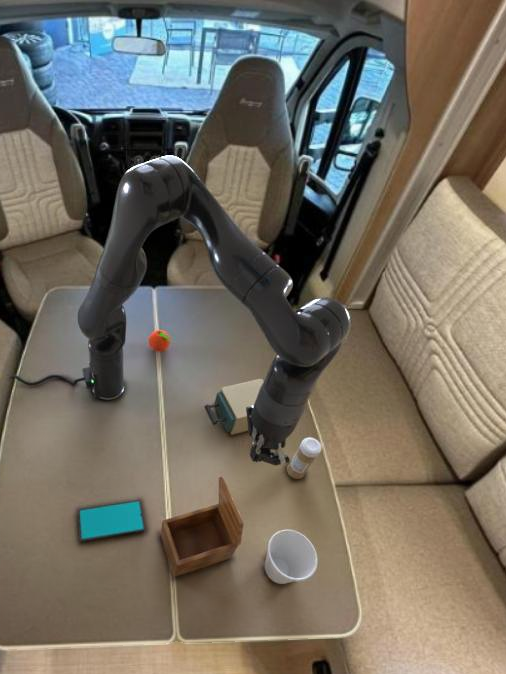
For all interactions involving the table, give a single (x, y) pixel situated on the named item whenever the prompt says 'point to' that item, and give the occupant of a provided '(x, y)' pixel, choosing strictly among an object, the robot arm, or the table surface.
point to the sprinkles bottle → (304, 457)
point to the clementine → (159, 340)
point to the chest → (197, 539)
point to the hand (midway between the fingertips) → (255, 457)
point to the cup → (290, 557)
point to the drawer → (221, 412)
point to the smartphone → (110, 520)
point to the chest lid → (230, 511)
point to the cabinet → (241, 401)
